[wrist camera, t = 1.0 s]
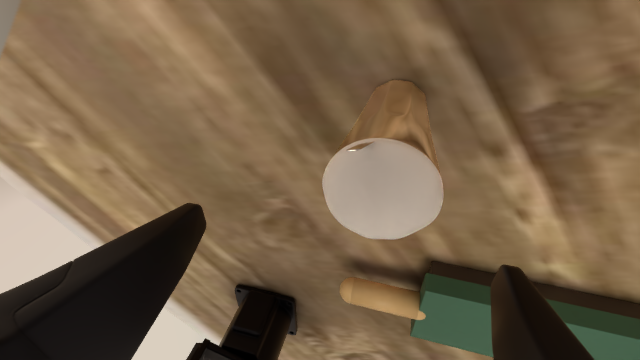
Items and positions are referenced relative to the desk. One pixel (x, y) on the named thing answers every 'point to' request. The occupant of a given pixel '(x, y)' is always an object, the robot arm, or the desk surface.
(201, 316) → the desk surface
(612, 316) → the brush
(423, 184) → the milkshake
